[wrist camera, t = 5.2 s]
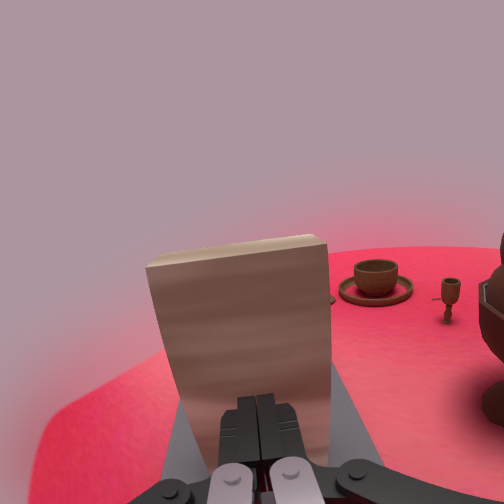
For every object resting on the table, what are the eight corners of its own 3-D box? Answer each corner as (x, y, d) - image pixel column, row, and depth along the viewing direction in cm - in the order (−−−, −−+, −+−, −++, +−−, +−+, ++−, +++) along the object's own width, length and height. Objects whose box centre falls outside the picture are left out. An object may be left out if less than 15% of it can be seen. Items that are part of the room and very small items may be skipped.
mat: (194, 355, 32) (193, 349, 32) (317, 339, 32) (317, 333, 32) (155, 529, 10) (150, 524, 10) (395, 501, 11) (398, 495, 10)
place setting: (416, 277, 47) (416, 245, 45) (463, 329, 27) (469, 283, 26) (321, 286, 50) (319, 253, 49) (324, 346, 31) (323, 299, 30)
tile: (215, 451, 17) (163, 252, 14) (317, 439, 17) (309, 232, 14) (213, 483, 14) (145, 267, 11) (327, 469, 14) (326, 243, 11)
